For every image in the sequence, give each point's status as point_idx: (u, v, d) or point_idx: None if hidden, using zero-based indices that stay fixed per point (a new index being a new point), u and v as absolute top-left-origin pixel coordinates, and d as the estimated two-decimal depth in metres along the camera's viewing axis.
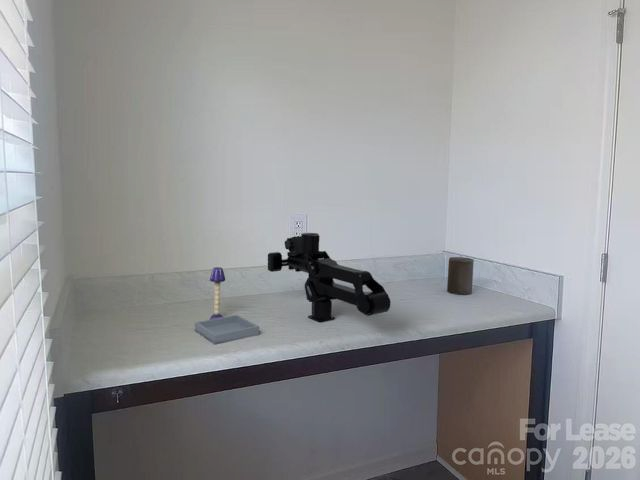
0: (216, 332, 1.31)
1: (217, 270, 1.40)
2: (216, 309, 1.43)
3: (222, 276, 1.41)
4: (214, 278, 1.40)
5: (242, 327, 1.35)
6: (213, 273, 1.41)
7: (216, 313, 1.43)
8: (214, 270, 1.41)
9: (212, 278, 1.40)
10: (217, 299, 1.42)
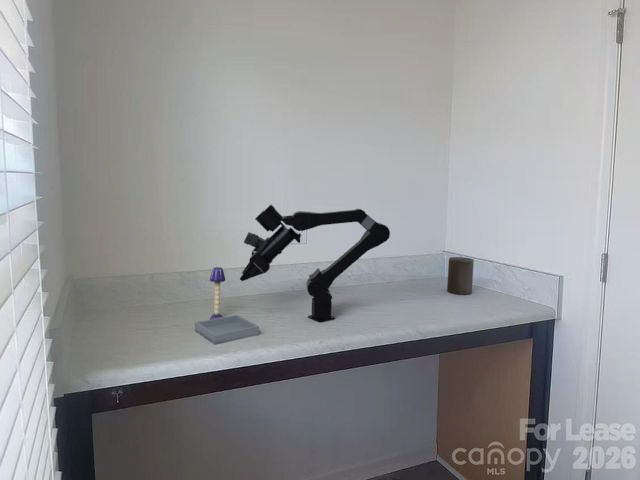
0: (216, 332, 1.31)
1: (217, 270, 1.40)
2: (216, 309, 1.43)
3: (222, 276, 1.41)
4: (214, 278, 1.40)
5: (242, 327, 1.35)
6: (213, 273, 1.41)
7: (216, 313, 1.43)
8: (214, 270, 1.41)
9: (212, 278, 1.40)
10: (217, 299, 1.42)
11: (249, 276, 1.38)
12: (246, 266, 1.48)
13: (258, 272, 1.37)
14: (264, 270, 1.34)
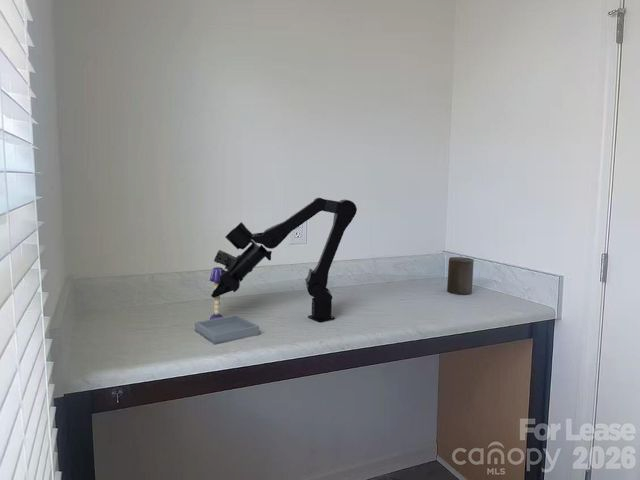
0: (216, 332, 1.31)
1: (217, 270, 1.40)
2: (216, 309, 1.43)
3: None
4: (214, 278, 1.40)
5: (242, 327, 1.35)
6: (213, 273, 1.40)
7: (216, 313, 1.43)
8: (214, 270, 1.40)
9: (212, 278, 1.40)
10: (217, 299, 1.42)
11: (220, 293, 1.40)
12: None
13: (229, 289, 1.39)
14: (233, 289, 1.34)
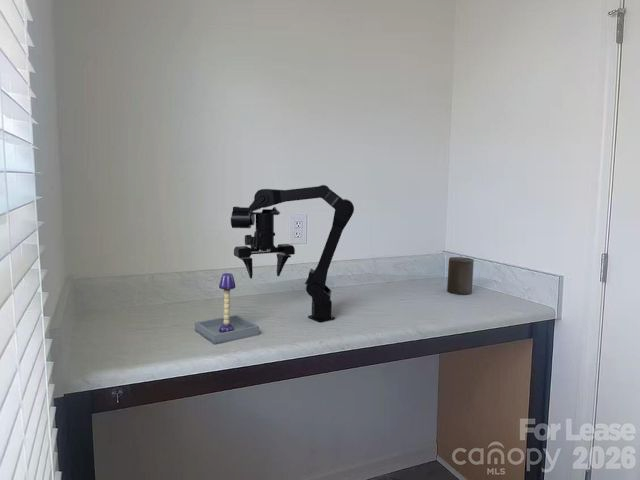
0: (216, 332, 1.31)
1: (229, 276, 1.29)
2: (227, 319, 1.31)
3: (234, 282, 1.30)
4: (227, 285, 1.28)
5: (242, 327, 1.35)
6: (224, 280, 1.29)
7: (227, 323, 1.31)
8: (225, 276, 1.29)
9: (224, 285, 1.28)
10: (228, 308, 1.31)
11: (248, 270, 1.43)
12: None
13: (247, 261, 1.41)
14: (238, 255, 1.39)
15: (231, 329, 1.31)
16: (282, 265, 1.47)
